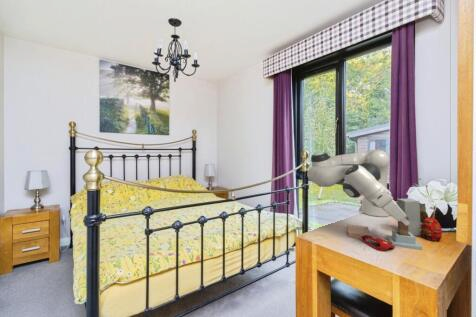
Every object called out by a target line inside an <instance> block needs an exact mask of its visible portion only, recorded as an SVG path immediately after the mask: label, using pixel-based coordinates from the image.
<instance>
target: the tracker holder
mask: <svg viewBox="0 0 476 317" xmlns="http://www.w3.org/2000/svg"><path fill="white" fill-rule="evenodd" d="M360 237H361V238H360V239H361V240H362V242H363V243H364V244H366V245H368V246H369V247H372V248H373V249H375V250H379V251H382V252H385V251H386V250H388V249H390V248H392V249H395V248H396V247H395V246H394V245H392V244H391V243H390V242H389V241H388V239H384V238H381V237H375V238H374V237H373V235H372V236H371V235H369V234H364V235H361V236H360ZM371 237H372V238H371ZM367 240H370V241H372V242H374V243H377V244H379V245H380V246H376V245H373V244H372V243H369V242H368V241H367Z"/></svg>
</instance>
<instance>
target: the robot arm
mask: <svg viewBox="0 0 476 317" xmlns="http://www.w3.org/2000/svg"><path fill="white" fill-rule="evenodd" d="M310 158H311V159H310V161H311V167H310V168H308V170H307V172H306V174H307V175H306V176H307V178H308V180H309V181H310V182H312V183H313V184H315V185H317V186H319V187H322V188H323V187H324V188H331V187H332V186H335V185H336V184H337V183H339V182H340V181H341V180H343V179H344V181H343V182H342V185H341V186H342V191H343V192H344V193H345V194H346V195H347V196H349V197H350V198H354V199H358V198H360V197H362V196H364V197H363V198H362V200H361V199H360V205H361V206H359V209H358V213H360V214H364V213H365V215H368V216H372V217H373V216H374V217H389V216H390V217H392V218H393V219H394V220H395V221H397V222H398V221H402V222H403V223H404V224H405V225H409V224H410V222H409V221H408V220H407V219H406V218H405V217H406V215H405V213H404V212H403V211H402V210H401V208H400V207H399V206H398V205H397V202H396V201H395V200H394V197H393V195H392V192H391V191H390V189H388V175H389V168H390V156H389V154H388V153H387V152H386V151H385V150H382V149H371V150H365V151H359V152H352V153H345V154H339V155H334V156H333V155H332V156H331V155H329V154H328V153H326V152H323V151H318V152H315V153H313V154H311V156H310Z"/></svg>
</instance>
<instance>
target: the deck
mask: <svg viewBox="0 0 476 317" xmlns="http://www.w3.org/2000/svg"><path fill="white" fill-rule="evenodd" d="M346 231H347V235H348V238H356V239H361V237H360V236H361V235H364V234H369V235H371V236H372V237H371V238H373V234H372V233H371V230H370V228H369V227H368V226H363V225H354V224H352V225H351V224H346Z"/></svg>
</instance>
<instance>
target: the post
mask: <svg viewBox="0 0 476 317" xmlns="http://www.w3.org/2000/svg"><path fill="white" fill-rule="evenodd" d="M405 218H406V219H407V220H408V221H409V218H408V217H407V216H406V217H405ZM397 231H398V234H399V235H404V236H408V225H405V224H404V223H403V222H402V221H397Z"/></svg>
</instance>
